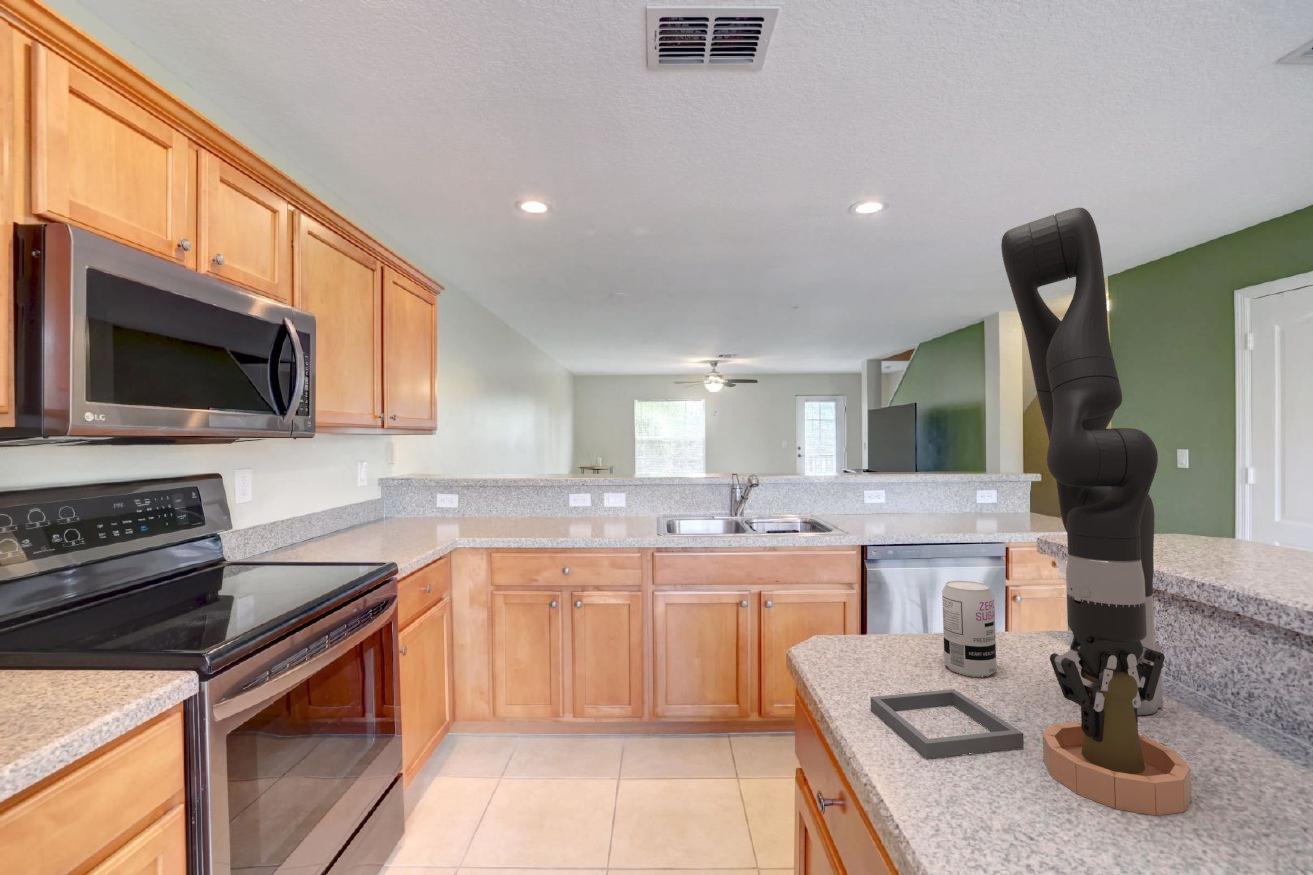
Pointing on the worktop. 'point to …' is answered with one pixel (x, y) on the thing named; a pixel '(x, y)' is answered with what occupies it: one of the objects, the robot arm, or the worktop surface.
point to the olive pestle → (1117, 729)
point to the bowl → (1119, 774)
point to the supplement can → (969, 628)
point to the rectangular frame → (995, 740)
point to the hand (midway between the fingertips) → (1109, 736)
